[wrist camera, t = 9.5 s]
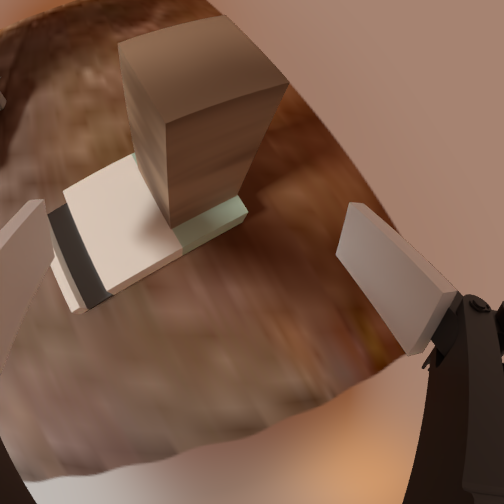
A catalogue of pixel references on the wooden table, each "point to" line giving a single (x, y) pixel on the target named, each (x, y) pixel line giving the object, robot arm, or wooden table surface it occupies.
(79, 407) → the wooden table surface
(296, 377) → the wooden table surface
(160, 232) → the board
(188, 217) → the walnut block
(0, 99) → the egg carton
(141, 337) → the wooden table surface
